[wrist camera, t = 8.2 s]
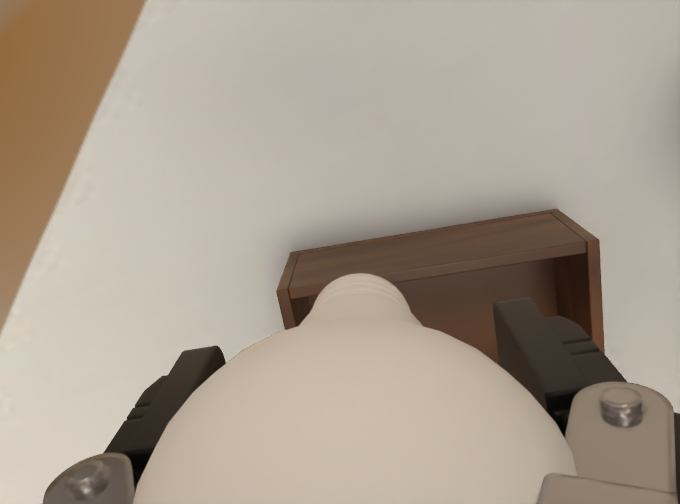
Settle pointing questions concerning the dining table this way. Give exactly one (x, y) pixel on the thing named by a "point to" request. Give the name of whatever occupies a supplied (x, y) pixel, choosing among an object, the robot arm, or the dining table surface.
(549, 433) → the lightbulb
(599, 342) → the chest
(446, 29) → the dining table surface
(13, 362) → the dining table surface
